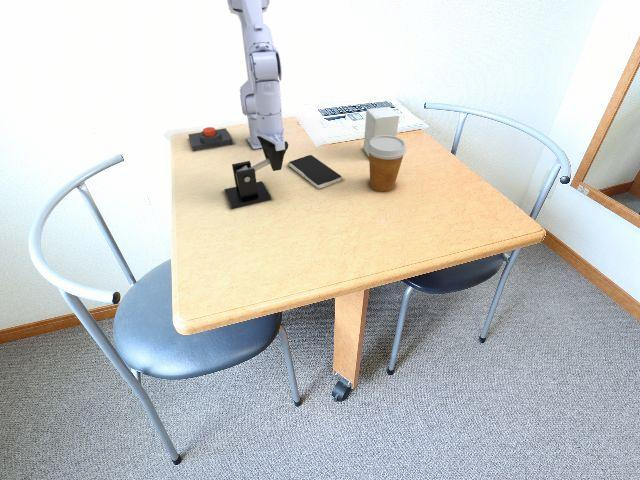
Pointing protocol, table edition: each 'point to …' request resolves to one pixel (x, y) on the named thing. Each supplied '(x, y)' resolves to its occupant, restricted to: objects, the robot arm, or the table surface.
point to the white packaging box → (380, 124)
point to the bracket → (246, 187)
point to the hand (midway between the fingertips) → (273, 164)
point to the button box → (210, 140)
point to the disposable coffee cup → (385, 161)
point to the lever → (256, 166)
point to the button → (209, 131)
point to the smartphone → (315, 171)
